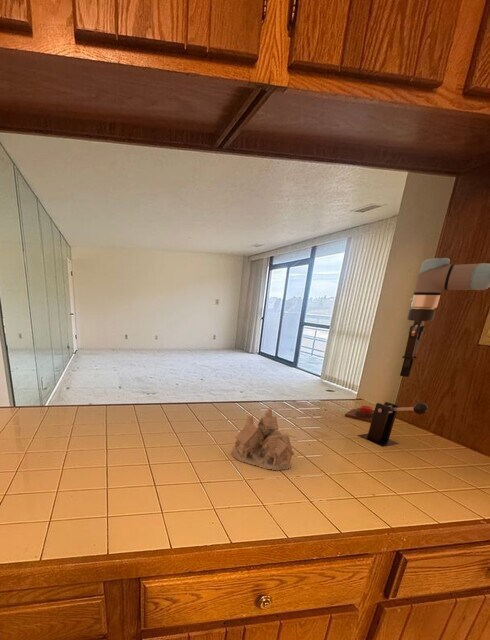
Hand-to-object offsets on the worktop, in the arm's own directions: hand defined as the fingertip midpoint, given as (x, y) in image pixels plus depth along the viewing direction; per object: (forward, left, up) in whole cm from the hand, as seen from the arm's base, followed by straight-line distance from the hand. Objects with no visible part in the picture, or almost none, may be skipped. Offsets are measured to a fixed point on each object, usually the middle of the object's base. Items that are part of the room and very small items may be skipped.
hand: (404, 376), depth 128 cm
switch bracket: (+7, +21, -20) cm, 30 cm away
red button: (+9, -3, -16) cm, 19 cm away
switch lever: (+3, +26, -7) cm, 27 cm away
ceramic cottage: (+42, +52, -20) cm, 70 cm away
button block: (+9, -3, -20) cm, 22 cm away
